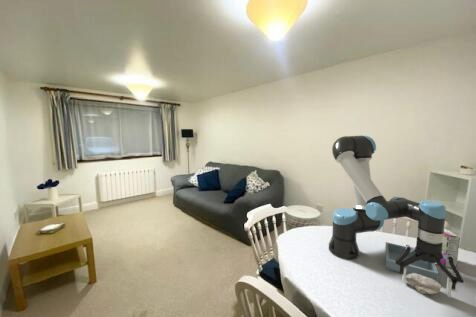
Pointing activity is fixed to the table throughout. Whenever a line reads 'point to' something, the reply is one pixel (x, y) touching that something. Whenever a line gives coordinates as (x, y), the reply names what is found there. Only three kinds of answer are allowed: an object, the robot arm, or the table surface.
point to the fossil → (423, 283)
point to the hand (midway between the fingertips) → (424, 287)
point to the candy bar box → (450, 247)
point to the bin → (416, 267)
